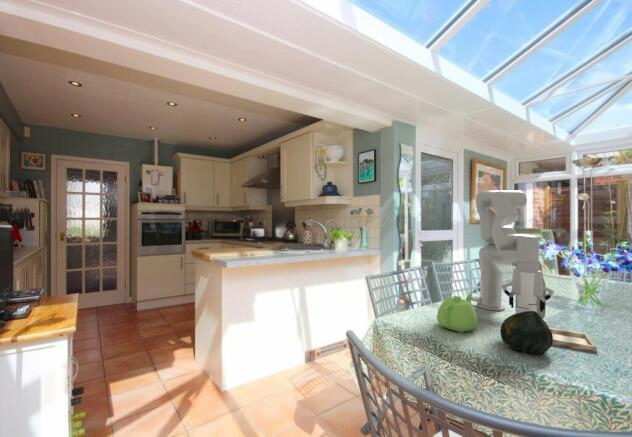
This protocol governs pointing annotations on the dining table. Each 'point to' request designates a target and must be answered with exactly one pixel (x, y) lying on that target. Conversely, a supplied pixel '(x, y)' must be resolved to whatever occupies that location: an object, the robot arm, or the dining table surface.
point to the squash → (527, 332)
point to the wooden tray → (573, 340)
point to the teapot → (457, 314)
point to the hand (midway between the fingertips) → (526, 308)
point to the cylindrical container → (526, 294)
